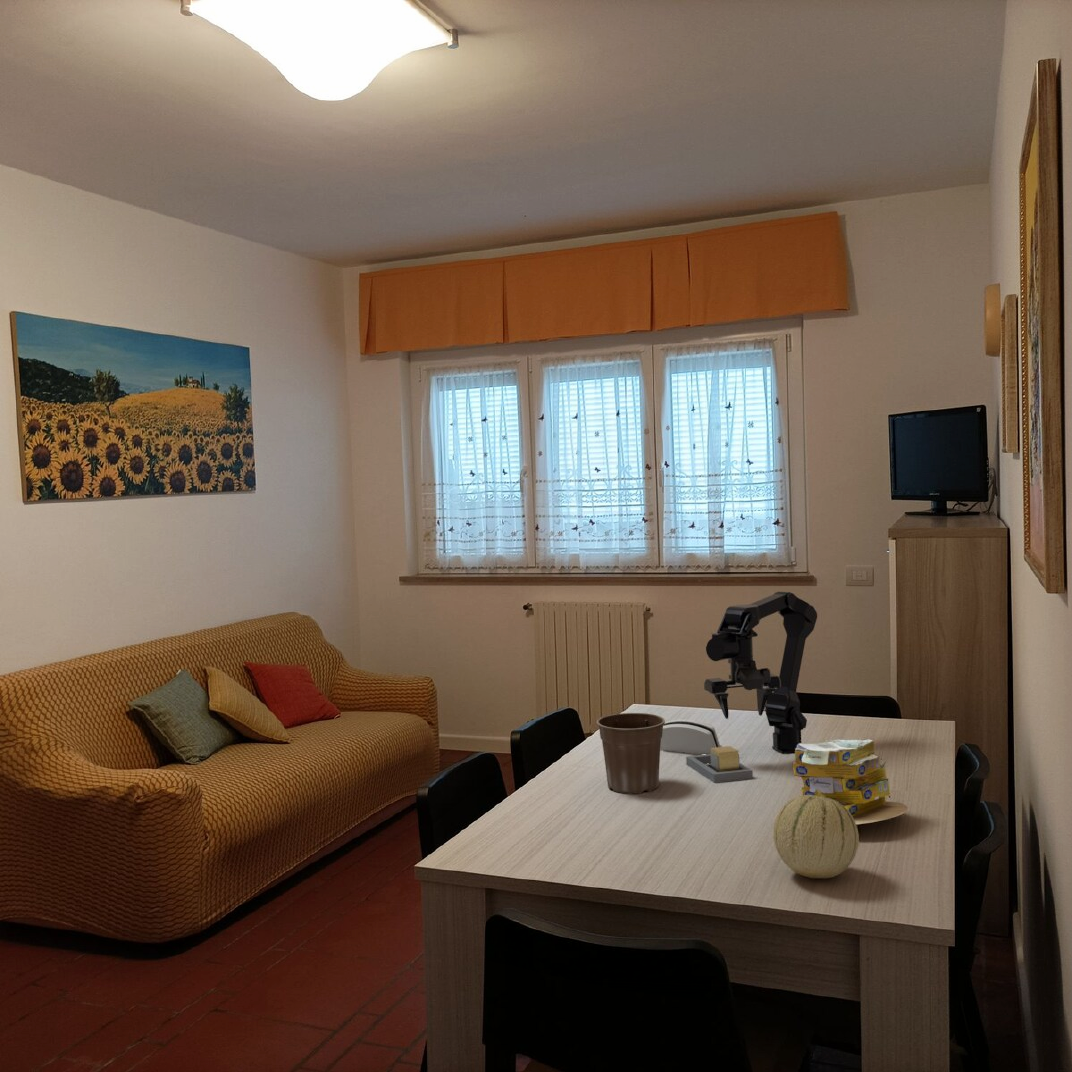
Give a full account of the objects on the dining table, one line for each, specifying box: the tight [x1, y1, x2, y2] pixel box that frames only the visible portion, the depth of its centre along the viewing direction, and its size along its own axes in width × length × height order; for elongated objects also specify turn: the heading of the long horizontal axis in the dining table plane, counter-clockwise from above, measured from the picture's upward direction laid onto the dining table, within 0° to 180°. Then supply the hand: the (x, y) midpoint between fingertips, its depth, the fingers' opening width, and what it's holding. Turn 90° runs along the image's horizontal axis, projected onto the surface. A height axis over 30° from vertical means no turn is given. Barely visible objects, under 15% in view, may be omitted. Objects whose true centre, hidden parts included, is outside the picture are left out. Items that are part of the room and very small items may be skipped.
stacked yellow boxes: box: [792, 738, 909, 829], centre depth 214 cm, size 25×25×17 cm
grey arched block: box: [660, 719, 723, 755], centre depth 275 cm, size 17×5×10 cm, turn 58°
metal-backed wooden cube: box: [710, 745, 740, 772], centre depth 251 cm, size 6×5×6 cm
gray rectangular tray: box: [685, 754, 754, 784], centre depth 255 cm, size 10×18×2 cm, turn 13°
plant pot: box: [596, 712, 666, 794], centre depth 244 cm, size 16×16×16 cm
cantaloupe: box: [773, 789, 860, 880], centre depth 184 cm, size 15×15×15 cm
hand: (743, 716), depth 260 cm, fingers open, 9 cm apart
